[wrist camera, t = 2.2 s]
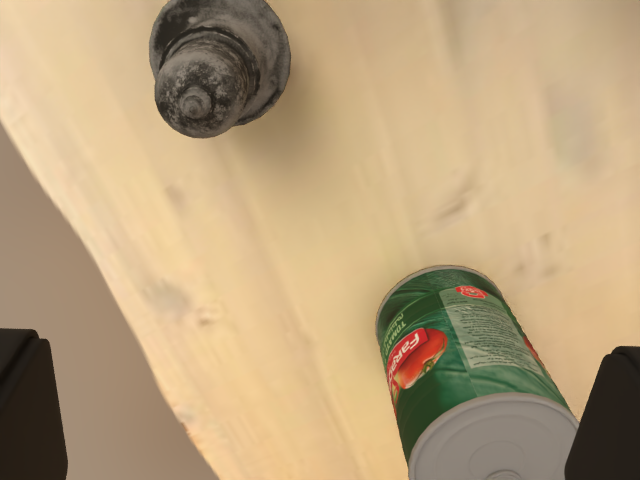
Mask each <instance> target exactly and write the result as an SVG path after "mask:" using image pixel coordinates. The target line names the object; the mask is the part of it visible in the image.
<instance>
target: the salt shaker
mask: <svg viewBox="0 0 640 480" xmlns="http://www.w3.org/2000/svg"><path fill="white" fill-rule="evenodd" d="M149 58H150V65H151V68H152V72H153V75H154V79H155V81H156V82H155V101H156V105H157V108H158V111H159V112H160V114H161V116H162V117H163V119H164V120H165V121H166V122H167V123H168V124H169V125H170V126H171V127H172V128H173V129H174V130H176V131H178V132H179V133H181V134H183V135H186V136H189V137H192V138H210V137H215V136H217V135H220V134H222V133H224V132H226V131H227V130H229V129H230V128H231V127H233V126H238V125H244V124H247V123H249V122H251V121H253V120H255V119H257V118H259V117H261V116H262V115H264V114H265V113H266V112H267V111H268V110H269V109H271V108H272V107H273V106H274V105H275V103H276V102H277V100H278V99H279V97H280V96H281V94H282V93H283V91H284V89H285V86H286V83H287V80H288V77H289V74H290V61H291V53H290V48H289V42H288V37H287V34H286V32H285V30H284V28H283V26H282V23H281V21H280V19H279V18H278V16H277V15H276V14H275V13H274V11H273V10H272V9H271V8H270V6H269V5H268V4H267V3H266V2H265V1H264V0H170V1H169V2H168V3H167V4H166V5H165V6H164V7H163V8H162V10H161V11H160V13H159V15H158V17H157V19H156V20H155V22H154V24H153V28H152V32H151V36H150V41H149Z"/></svg>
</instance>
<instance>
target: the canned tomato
mask: <svg viewBox="0 0 640 480" xmlns="http://www.w3.org/2000/svg"><path fill="white" fill-rule="evenodd" d="M376 336H377V340H378V344H379V346H380V352H381V356H382V360H383V364H384V368H385V373H386V377H387V382H388V386H389V391H390V395H391V398H392V404H393V407H394V413H395V416H396V420H397V425H398V429H399V435H400V438H401V442H402V448H403V451H404V455H405V459H406V462H407V466H408V477H409V480H565V475H564V468H565V464H566V461H567V458H568V455H569V452H570V450H571V447H572V444H573V441H574V438H575V435H576V433H577V430H578V427H579V424H580V423H579V422H578V420H577V419H576V418H575V416H574V415H573V414H572V412H571V410H570V409H569V407H568V405H567V403H566V401H565V399H564V398H563V396H562V395H561V393H560V392H559V390H558V388H557V386H556V385H555V383H554V382H553V380H552V379H551V376H550V374H549V373H548V372H547V370H546V369H545V367H544V364H543V363H542V362H541V360H540V359H539V357H538V354H537V353H536V352H535V350H534V349H533V347H532V344H531V343H530V342H529V340H528V339H527V336H526V335H525V333H524V332H523V331H522V328H521V326H520V325H519V324H518V322H517V320H516V318H515V317H514V315H513V314H512V312H511V310H510V308H509V307H508V306H507V304H506V303H505V301H504V299H503V296H502V294H501V292H500V291H499V289H498V288H497V287H496V285H495V284H494V283H493V282H492V281H491V280H490V279H488V278H487V277H486V276H485V275H483V274H481V273H479V272H477V271H475V270H472V269H469V268H466V267H462V266H452V265H446V266H435V267H431V268H427V269H423V270H421V271H418V272H416V273H414V274H411V275H410V276H408V277H407V278H405V279H403V280H402V281H400V282H399V283H398V284H397V285H396V286H395V287H394V288H393V289H392V290H390V292H389V293H388V294H387V296H386V297H385V298H384V300H383V302H382V304H381V306H380V308H379V310H378V314H377V318H376Z"/></svg>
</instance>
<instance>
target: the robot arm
mask: <svg viewBox="0 0 640 480" xmlns="http://www.w3.org/2000/svg"><path fill="white" fill-rule="evenodd" d="M67 468H68V460H67V452H66V446H65V439H64V433H63V426H62V420H61V413H60V407H59V400H58V394H57V387H56V380H55V374H54V367H53V361H52V354H51V348H50V344H49V341H48V340H47V339H39V336H38V334H37V332H36V331H35V330H33V329H2V328H0V480H66V475H67ZM564 475H565V480H640V347H636V346H619V347H616V348H615V349H614V350H613V351H612V353H611V354H608V355H606V356H605V357H604V358H603V360H602V362H601V365H600V368H599V371H598V373H597V376H596V379H595V382H594V385H593V388H592V390H591V393H590V396H589V399H588V402H587V404H586V407H585V410H584V413H583V416H582V419H581V421H580V424H579V427H578V430H577V433H576V435H575V438H574V441H573V444H572V447H571V450H570V452H569V455H568V458H567V461H566V464H565V468H564Z"/></svg>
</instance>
